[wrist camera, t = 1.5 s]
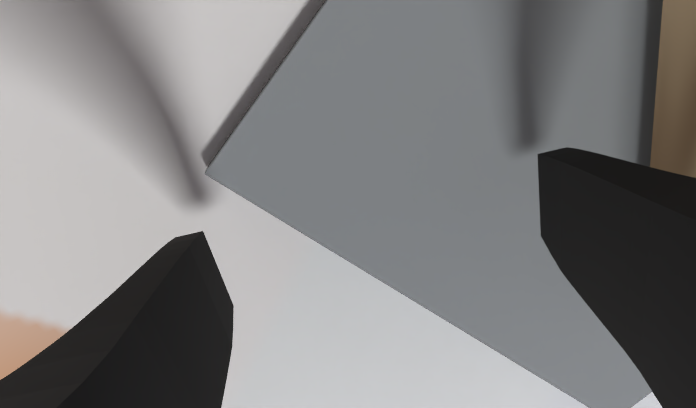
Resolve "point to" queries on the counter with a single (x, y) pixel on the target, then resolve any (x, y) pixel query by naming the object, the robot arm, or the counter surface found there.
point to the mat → (457, 158)
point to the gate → (676, 91)
